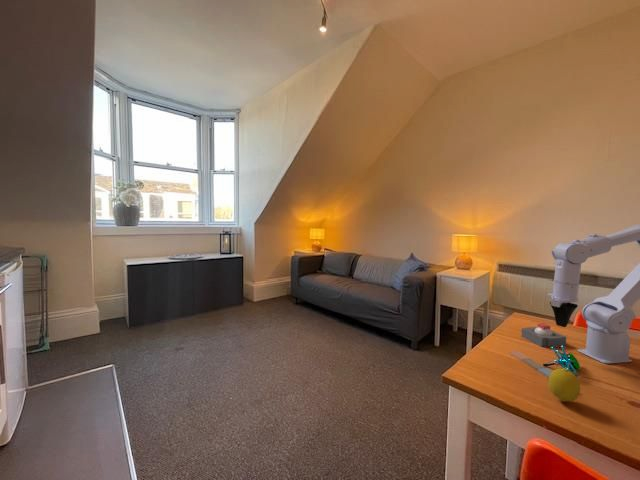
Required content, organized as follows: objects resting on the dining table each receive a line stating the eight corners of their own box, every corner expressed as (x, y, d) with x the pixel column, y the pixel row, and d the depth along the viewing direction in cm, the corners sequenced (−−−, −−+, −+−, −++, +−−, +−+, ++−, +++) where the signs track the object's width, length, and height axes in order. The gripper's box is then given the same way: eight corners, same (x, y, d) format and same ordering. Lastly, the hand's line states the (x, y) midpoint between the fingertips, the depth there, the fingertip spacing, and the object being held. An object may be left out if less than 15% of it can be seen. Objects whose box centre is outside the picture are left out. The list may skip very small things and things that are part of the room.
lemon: (541, 394, 68) (543, 362, 67) (562, 393, 68) (564, 361, 67) (563, 410, 62) (565, 376, 62) (585, 408, 63) (588, 374, 62)
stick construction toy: (573, 375, 72) (556, 344, 76) (544, 380, 77) (530, 350, 81) (591, 376, 77) (574, 346, 82) (562, 380, 82) (548, 352, 87)
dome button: (542, 337, 99) (543, 321, 99) (556, 343, 94) (557, 327, 94) (529, 337, 99) (531, 322, 98) (542, 344, 94) (543, 328, 93)
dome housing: (542, 334, 102) (543, 326, 101) (567, 346, 93) (567, 337, 92) (520, 335, 101) (520, 327, 100) (542, 347, 92) (543, 338, 91)
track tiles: (517, 352, 88) (517, 350, 88) (563, 379, 74) (563, 377, 74) (508, 353, 88) (509, 351, 88) (553, 380, 73) (553, 378, 73)
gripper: (558, 277, 92) (554, 317, 93) (540, 282, 84) (536, 325, 85) (587, 282, 86) (582, 324, 87) (570, 287, 78) (565, 334, 79)
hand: (561, 325), depth 86 cm, fingers closed
